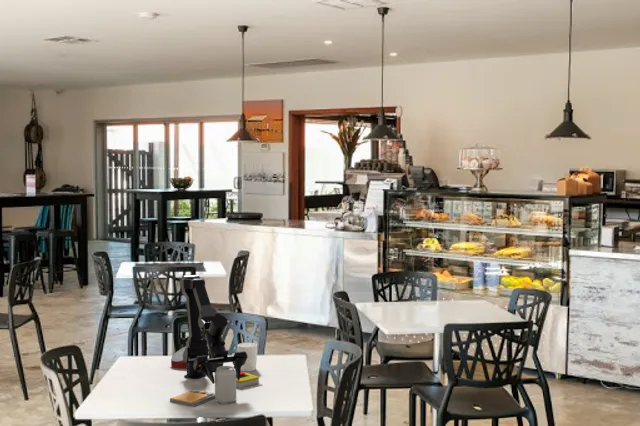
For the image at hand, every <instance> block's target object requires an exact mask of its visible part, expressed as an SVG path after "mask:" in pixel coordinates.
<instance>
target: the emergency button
mask: <svg viewBox="0 0 640 426" xmlns="http://www.w3.org/2000/svg"><path fill="white" fill-rule="evenodd" d="M262 386H263V384H262V383H260V380H259V376H258V375H254V374H251V373H248V372H247V371H240V379H239V381H238V379H237V376H236V389H240V390H249V389H252V388H253V389H254V388H257V387H262Z"/></svg>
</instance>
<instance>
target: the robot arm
mask: <svg viewBox="0 0 640 426" xmlns="http://www.w3.org/2000/svg"><path fill="white" fill-rule="evenodd" d="M179 287H180V288H181V293H182V295H183V296H184V298H185V299H186V309H187V321H188V333H189V334H188V338H187V339H186V342H185V346H186V348H185V350H184V353H183V361H185V362H186V363H187V368H186V374H184V375H183V376H184V378H189V379H195V380H197V379H198V380H199V379H200V378H203V377H207V378H208V379H209V381H210V382H211V383H212V384H213V385H215V375H214V374H215V372H216V370H217V369H216V368H217V367H220V366H224V364H227V363H232V365H233V367H234V370H235V371H236V376H237V379H238V381H239V379H240V371H241V367H242V365H244V364H245V362H246V360H247V357H248V356H247V353H246V352H245V351H240V352H238V351H235V352H234V354H233V355H231V356H230V355H229V356H228V354H229V352H228V350H227V349H226V347H225V346H226V341H224V339H223V335H224V334H225V332H226V328H227V326H228V323H229V321H228V319H227V317H226V316H224V315H223V314H221V313H220V312H218V311H217V310H216V308H214V307H213V306H212V303H211V301H210V297H209V295H208V291H207V289H206V288H207V287H206V281H205V277H200V275H199V274H191V275H182V277H181V278H180V279H179ZM202 331H206V332H205V333H204V336H203V335H202Z"/></svg>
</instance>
